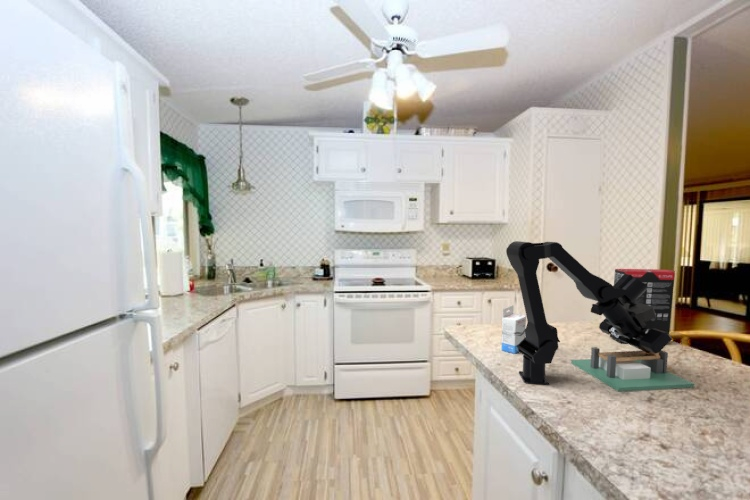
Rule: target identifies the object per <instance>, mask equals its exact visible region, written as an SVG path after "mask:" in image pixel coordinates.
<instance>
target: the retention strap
mask: <svg viewBox="0 0 750 500" xmlns="http://www.w3.org/2000/svg"><path fill="white" fill-rule="evenodd" d="M607 355H614V356H616V361H631V360H652V359H660V355H659V353H652V352H650V353H646V352H644V351H642V350H629V351H628V350H626V351H606V352H605V351H604V352H599V353H598V356H599V357H601V358H603V359H605V360H607Z"/></svg>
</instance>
